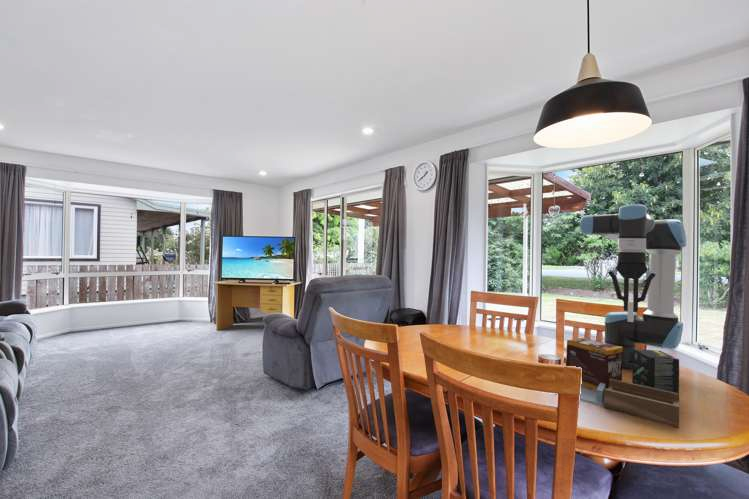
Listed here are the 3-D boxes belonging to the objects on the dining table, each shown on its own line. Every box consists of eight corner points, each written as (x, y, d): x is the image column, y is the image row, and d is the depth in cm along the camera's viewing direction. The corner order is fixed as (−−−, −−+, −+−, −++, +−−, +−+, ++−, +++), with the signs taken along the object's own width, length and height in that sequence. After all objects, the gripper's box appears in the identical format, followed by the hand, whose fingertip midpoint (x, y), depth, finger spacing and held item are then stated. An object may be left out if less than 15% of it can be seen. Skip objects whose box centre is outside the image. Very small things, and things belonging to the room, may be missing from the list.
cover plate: (556, 385, 130) (556, 372, 130) (606, 397, 120) (607, 383, 120) (549, 393, 122) (549, 379, 122) (603, 407, 112) (603, 392, 112)
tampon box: (679, 402, 116) (680, 359, 116) (648, 399, 118) (649, 356, 118) (659, 389, 127) (660, 349, 126) (631, 387, 128) (632, 347, 128)
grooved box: (609, 395, 120) (609, 378, 120) (677, 412, 109) (678, 393, 109) (604, 408, 110) (604, 389, 110) (678, 428, 99) (679, 407, 99)
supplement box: (606, 394, 122) (607, 350, 121) (565, 379, 135) (566, 339, 135) (623, 389, 126) (624, 346, 126) (581, 375, 140) (582, 336, 140)
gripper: (607, 251, 117) (606, 320, 117) (656, 251, 108) (655, 326, 109) (609, 250, 123) (608, 316, 123) (656, 251, 114) (655, 321, 115)
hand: (630, 321), depth 116 cm, fingers closed
